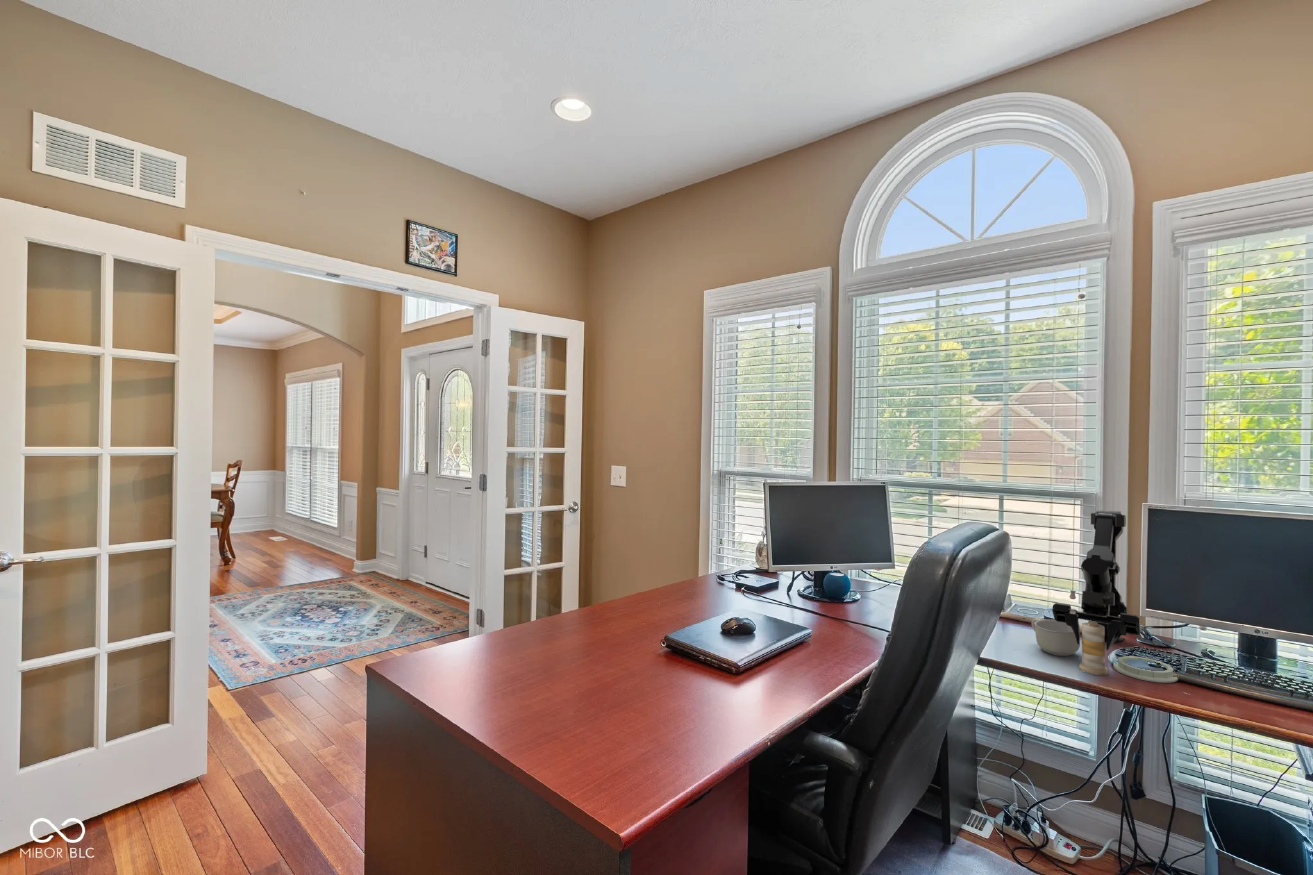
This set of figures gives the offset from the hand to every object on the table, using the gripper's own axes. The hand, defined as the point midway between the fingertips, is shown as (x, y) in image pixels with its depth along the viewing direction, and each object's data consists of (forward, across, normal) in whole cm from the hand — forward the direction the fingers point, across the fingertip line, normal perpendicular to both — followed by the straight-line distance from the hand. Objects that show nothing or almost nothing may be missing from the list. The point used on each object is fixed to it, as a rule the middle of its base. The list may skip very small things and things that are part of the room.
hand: (1092, 646), depth 154 cm
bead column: (+4, 0, +6) cm, 7 cm away
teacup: (-4, -10, +14) cm, 17 cm away
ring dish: (-1, +10, +11) cm, 15 cm away
